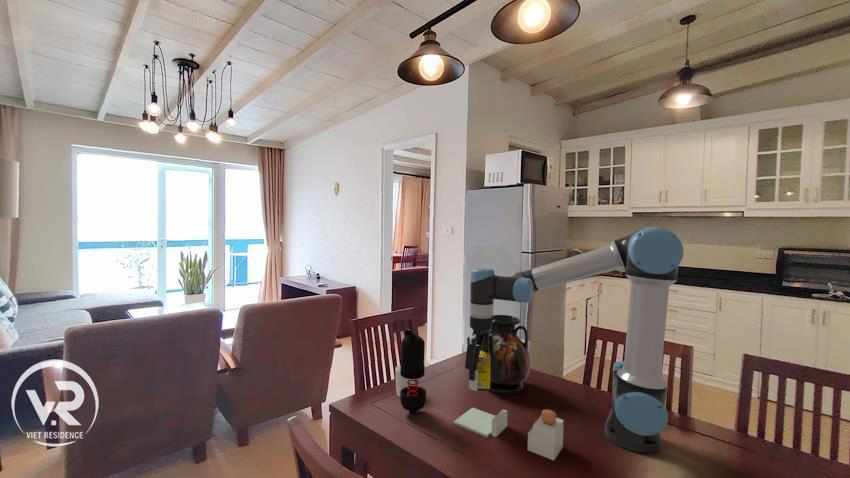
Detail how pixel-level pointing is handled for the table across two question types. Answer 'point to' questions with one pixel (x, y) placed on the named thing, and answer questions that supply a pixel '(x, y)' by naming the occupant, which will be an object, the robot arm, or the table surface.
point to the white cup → (401, 381)
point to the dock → (536, 435)
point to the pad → (476, 422)
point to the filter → (412, 372)
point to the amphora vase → (508, 356)
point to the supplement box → (483, 371)
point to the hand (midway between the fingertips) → (479, 384)
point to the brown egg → (548, 416)
